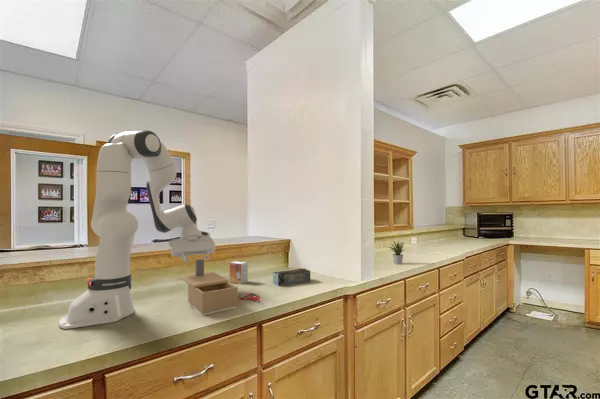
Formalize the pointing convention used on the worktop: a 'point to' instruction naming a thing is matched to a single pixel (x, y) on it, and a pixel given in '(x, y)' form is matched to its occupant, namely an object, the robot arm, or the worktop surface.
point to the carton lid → (203, 277)
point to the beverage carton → (291, 277)
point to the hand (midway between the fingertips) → (197, 260)
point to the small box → (238, 272)
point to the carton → (213, 297)
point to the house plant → (397, 253)
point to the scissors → (252, 298)
